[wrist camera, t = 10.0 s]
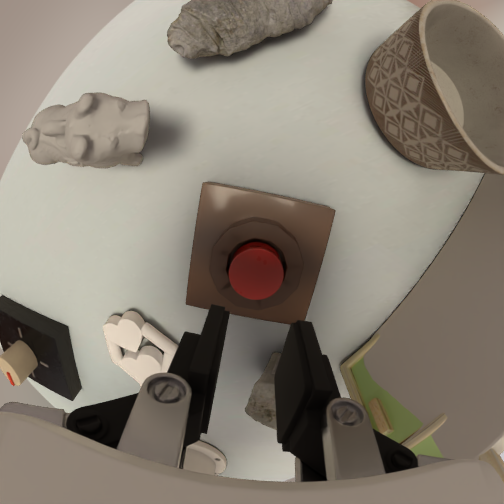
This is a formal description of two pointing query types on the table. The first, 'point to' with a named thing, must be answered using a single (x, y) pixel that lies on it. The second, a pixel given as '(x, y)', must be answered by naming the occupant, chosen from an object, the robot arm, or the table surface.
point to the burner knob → (18, 362)
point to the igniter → (257, 230)
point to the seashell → (236, 24)
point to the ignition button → (256, 271)
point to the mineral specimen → (264, 395)
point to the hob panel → (41, 346)
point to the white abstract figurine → (137, 346)
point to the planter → (442, 89)
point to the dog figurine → (90, 132)
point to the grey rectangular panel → (453, 335)
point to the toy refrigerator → (397, 412)
